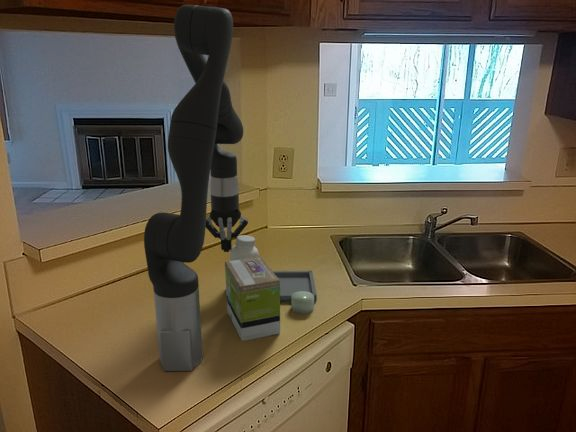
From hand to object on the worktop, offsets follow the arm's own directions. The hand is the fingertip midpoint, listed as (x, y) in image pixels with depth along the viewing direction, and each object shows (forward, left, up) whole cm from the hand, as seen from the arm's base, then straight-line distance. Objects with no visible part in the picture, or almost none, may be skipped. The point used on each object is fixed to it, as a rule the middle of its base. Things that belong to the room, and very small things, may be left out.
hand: (226, 251), depth 137 cm
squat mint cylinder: (-12, -21, -12) cm, 27 cm away
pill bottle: (-1, -4, -11) cm, 12 cm away
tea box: (-19, -8, -12) cm, 24 cm away
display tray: (-1, -17, -12) cm, 20 cm away
